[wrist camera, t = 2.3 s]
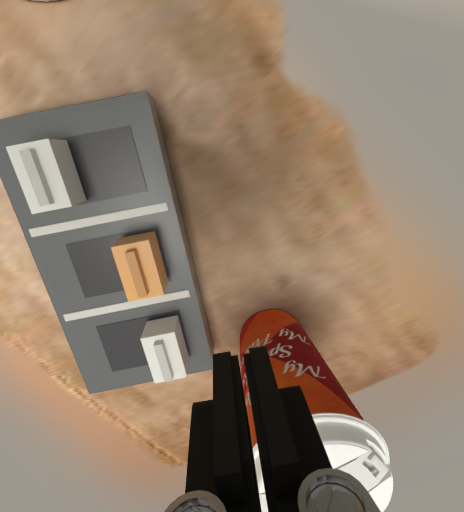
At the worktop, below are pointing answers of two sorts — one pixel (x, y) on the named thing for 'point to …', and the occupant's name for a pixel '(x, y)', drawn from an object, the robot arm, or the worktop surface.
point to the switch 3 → (165, 349)
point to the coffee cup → (317, 403)
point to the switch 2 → (140, 266)
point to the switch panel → (109, 236)
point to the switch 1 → (47, 174)
